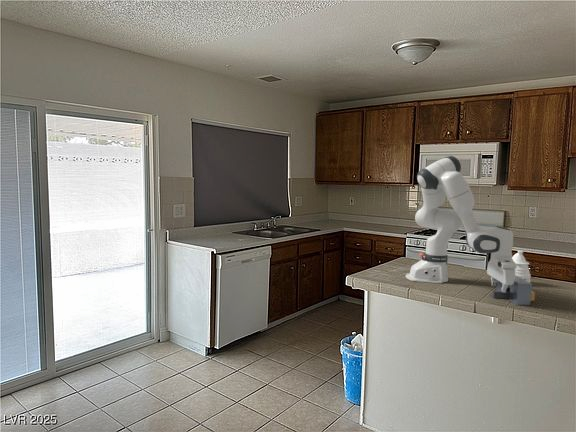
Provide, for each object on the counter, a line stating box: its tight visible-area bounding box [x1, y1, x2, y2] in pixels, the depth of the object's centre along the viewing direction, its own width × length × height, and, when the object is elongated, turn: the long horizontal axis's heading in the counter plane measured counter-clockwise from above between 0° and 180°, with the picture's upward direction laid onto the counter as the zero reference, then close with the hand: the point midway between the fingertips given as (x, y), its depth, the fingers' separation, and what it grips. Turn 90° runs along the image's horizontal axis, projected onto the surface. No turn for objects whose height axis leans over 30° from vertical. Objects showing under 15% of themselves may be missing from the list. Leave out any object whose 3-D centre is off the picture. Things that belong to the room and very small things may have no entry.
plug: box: [491, 290, 536, 302], centre depth 194 cm, size 18×4×4 cm, turn 86°
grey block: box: [495, 275, 533, 307], centre depth 194 cm, size 6×21×13 cm, turn 176°
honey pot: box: [512, 250, 532, 283], centre depth 223 cm, size 13×13×18 cm
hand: (498, 289), depth 195 cm, fingers open, 8 cm apart
